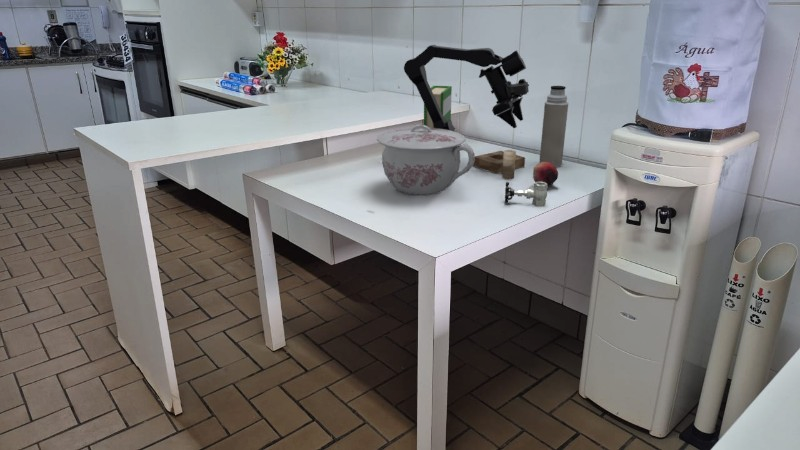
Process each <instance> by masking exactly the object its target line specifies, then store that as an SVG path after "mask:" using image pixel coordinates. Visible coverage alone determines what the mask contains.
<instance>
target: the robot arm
mask: <svg viewBox="0 0 800 450" xmlns="http://www.w3.org/2000/svg"><path fill="white" fill-rule="evenodd" d="M434 58H436V59H444V60H445V59H447V60H454V61H461V62H467V63H470V64H472V65H475V66H478V67H481V69H480V73H479V75H478V78H480V79H481V78H483V77H485V78H486V80H487V82H488V84H489V87H490V88H491V91H490V93H491V94H492V95H494V96H495V98H496V101H495V103H496V104H495V105H493V107H492V110H491V112H492V113H493V115H494V116H496V117H498V118H499V119H501V120H502V121H503V122H505V123H506V124H507V125H509V126H510V127H511V128H513V129H516V128H517V126H518V125H517V122H516V119H515V118H517V119H518V120H519V122H522V121H524V115H523V112H522V106H521V103H522V100H523V98H524V97H523V96H524V95H528V93H529V87H530V84H528V81H526V79H525V78H521V79H518V82H516V83H512V82H511V81H510V80H507V78H506V76H510V77H513V76H515V75H517V74H518V73H521V72H523V71H524V70H526V69H527V67H526V64H525V61H524V59H523V58H522V57H521V55H520V53H519V52H518V50H514V51H513V52H512V53H510V54H508V55H507V56H505V57H502V56H499V55H498V54H496V53H495V52H494V50H493V49H492V48H490V47H480V48H479V47H478V48H471V49H467V48H459V47H451V46H449V47H448V46H442V45H441V46H440V45H436V44H431V45H429V46H427V47H426V48H425V49H424V50H423V51H422V52H421V53H419V54H418V55H417V56H416V57H414V58H411V59H408V60H407V61H406V62H405V63H404V65H403V70H404V73H405V74H406V76H407V78H408V79H409V80H410V82H412V83H413V85H414V86H415V87H416V89H417V91H418V94H419V95H420V97H421V98H420V99H421V100H422V102H423V105H424V104H425V106H426V109H427V111H428V113H429V115H430V117H431V119H432V122H433V127H434V128H440V129H446V130H450V131H454V132H456V131H455V130H456V128H455V126H454V125H453V122H452V118H451V119H450V120H448V121H447V120H446V119H445V118H444V116H443V114H442V112H441V110H440V108H439V106H438V103H437V101H436V99H435V97H434V95H433V92H432V90H431V86H430V84H429V81H428V78H427V77H428V76H427V70H426V65H428V64H429V63H430V62H431V61H432V60H433V59H434ZM490 65H491V66H490ZM494 66H496V67H494ZM484 68H486V69H484Z"/></svg>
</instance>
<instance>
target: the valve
mask: <svg viewBox="0 0 800 450" xmlns="http://www.w3.org/2000/svg"><path fill="white" fill-rule="evenodd" d="M547 190H548V187H547V183H545V182H535V181H534V183H533V189H531V188H527V189H526V190H521V189H518V190H517V191H515V189H514V188H513V187H512V186H510V181H506V182H505V189H504V191H505V192H504V193H505V195H504V204H509V201H511V200H512V199H513V197H515V196H517V197H523V196H524V198H525V197H526V199H528V200H530V199H532V203H531V205H533V206H534V207H541V208H542V207H545V205H546V203H547V197H548V191H547Z"/></svg>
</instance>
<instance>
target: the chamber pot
mask: <svg viewBox="0 0 800 450" xmlns="http://www.w3.org/2000/svg"><path fill="white" fill-rule="evenodd" d="M454 131H455V130H454ZM454 131H450V130H446V129H440V128H429V127H427V126H425V125H424V124H417V125H414V126H413V127H403V128H398V129H393V130H389V131H386V132H383V133H381V134H379V135H378V136H377V139H376V141H377V142H378V143H379V144H380V145H382V146H385V147H384V149H383V151H382V154H381V162H382V163H381V164H382V168H383V172H384V176H386V178H387V180H388V181H389V182H390V184H391V186H393V188H394V189H395V190H397V191H398V192H400V193H403V194H406V195H410V196H430V195H436V194H439V193H442V192H444V191H446V190H447V189H448V188H449V187H450V186H452V185H453V184H454V182H455V181H456V180H457V179H458V178H460V177H462V176H464V175H466V173H468V172H469V171H470V169H472V167H474V166H473V165H474V161H475V156H476V155H475V151H474V149H473V148H472V146H471V145H469V144H468V143H466V141H467V139H466V136H464V134H461V133H460V132H458V131H455V132H454ZM461 151H464V152H466V153H467V156H468V162H467V164H466V166H465V167H464V168H463V169H462V170H461V171H459V169H460V164H461Z"/></svg>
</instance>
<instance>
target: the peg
mask: <svg viewBox="0 0 800 450" xmlns="http://www.w3.org/2000/svg"><path fill="white" fill-rule="evenodd" d="M503 151H504V155H503V171H502V173H501V178H502V180H503V179H504V180H513V179H515V173H516V172H515V170H516V169H515V158H516V155H517V151H516V150H512V149H508V150H507V149H506V150H503Z"/></svg>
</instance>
